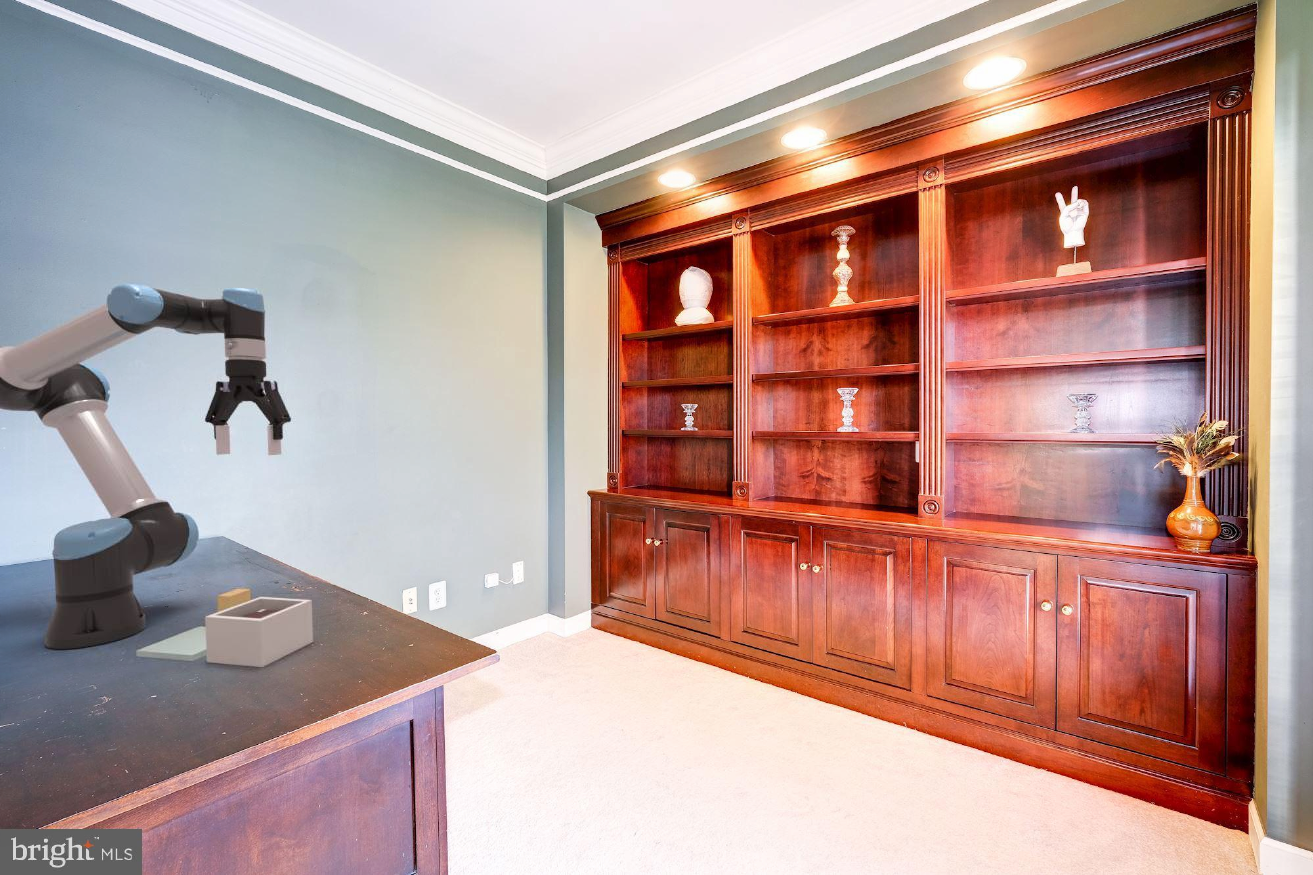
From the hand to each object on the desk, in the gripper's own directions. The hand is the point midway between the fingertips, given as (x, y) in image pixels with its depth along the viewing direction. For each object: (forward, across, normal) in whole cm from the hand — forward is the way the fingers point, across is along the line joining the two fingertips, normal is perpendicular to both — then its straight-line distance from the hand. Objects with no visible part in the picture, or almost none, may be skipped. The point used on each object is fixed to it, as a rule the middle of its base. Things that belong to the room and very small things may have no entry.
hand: (248, 454), depth 132 cm
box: (+37, +19, -17) cm, 45 cm away
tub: (+37, +19, -17) cm, 45 cm away
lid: (+37, +3, -14) cm, 40 cm away
